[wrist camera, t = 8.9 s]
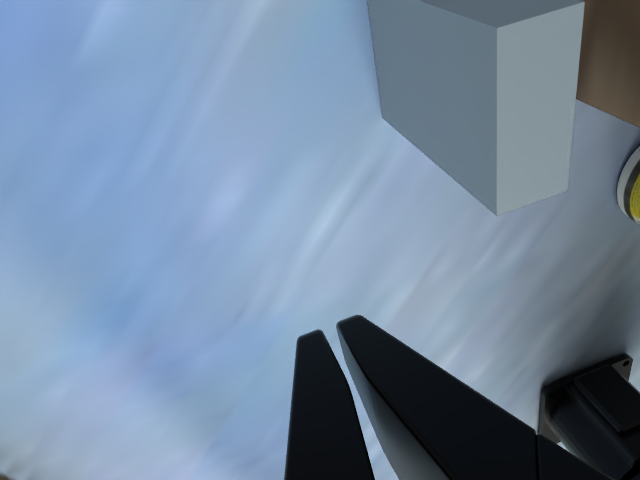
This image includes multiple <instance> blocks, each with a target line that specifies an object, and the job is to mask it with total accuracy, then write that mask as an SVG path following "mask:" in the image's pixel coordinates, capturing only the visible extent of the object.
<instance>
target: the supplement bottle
mask: <svg viewBox="0 0 640 480" xmlns="http://www.w3.org/2000/svg"><path fill="white" fill-rule="evenodd" d="M617 200H618V204H619V207H620V208H621V210H622V211H623V213H624V214H625V215H627V216H628V217H629V218H631V219H632V220H633V221H635V222H637V223H638V224H640V146H639V147H638V148H637V149H636V150H635V152H634V153H633V154H632V155H631V157H630V158H629V159H628V161H627V163H626V164H625V166H624V168H623V170H622V173H621V176H620V179H619V182H618V187H617Z"/></svg>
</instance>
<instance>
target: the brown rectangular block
mask: <svg viewBox="0 0 640 480" xmlns="http://www.w3.org/2000/svg"><path fill="white" fill-rule="evenodd" d="M580 1H584V2H585V5H584V15H583V26H582V37H581V48H580V59H579V69H578V80H577V91H576V99H577V100H579V101H581V102H584V103H586V104H588V105H590V106H593V107H595V108H597V109H599V110H602V111H604V112H606V113H608V114H611V115H613V116H615V117H617V118H619V119H622V120H624V121H626V122H628V123H631V124H633V125H635V126H637V127H640V0H580Z"/></svg>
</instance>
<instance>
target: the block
mask: <svg viewBox="0 0 640 480" xmlns="http://www.w3.org/2000/svg"><path fill="white" fill-rule="evenodd" d="M367 5H368V12H369V20H370V27H371V35H372V43H373V50H374V58H375V65H376V73H377V80H378V88H379V96H380V103H381V111H382V118H383V119H384V120H385V121H386V122H388V123H389V124H390V125H391V126H392V127H393V128H395V129H396V130H397V131H398V132H399V133H400V134H402V135H403V136H404V137H405V138H406V139H407V140H409V141H410V142H411V143H412V144H413V145H414V146H416V147H417V148H418V149H419V150H420V151H421V152H423V153H424V154H425V155H426V156H427V157H428V158H430V159H431V160H432V161H433V162H434V163H435V164H437V165H438V166H439V167H440V168H441V169H442V170H444V171H445V172H446V173H447V174H448V175H449V176H451V177H452V178H453V179H454V180H455V181H456V182H458V183H459V184H460V185H461V186H462V187H463V188H465V189H466V190H467V191H468V192H469V193H470V194H472V195H473V196H474V197H475V198H476V199H477V200H479V201H480V202H481V203H482V204H483V205H484V206H486V207H487V208H488V209H489V210H490V211H491V212H493V213H494V214H495V215H496V216H498V215H501V214H504V213H506V212H509V211H512V210H515V209H518V208H521V207H523V206H526V205H529V204H532V203H535V202H537V201H540V200H543V199H546V198H549V197H551V196H554V195H557V194H560V193H563V192H566V191H567V188H568V177H569V166H570V156H571V145H572V134H573V123H574V112H575V102H576V91H577V80H578V69H579V59H580V48H581V37H582V26H583V15H584V5H585V2H584V1H580V0H367Z"/></svg>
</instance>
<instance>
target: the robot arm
mask: <svg viewBox="0 0 640 480" xmlns="http://www.w3.org/2000/svg"><path fill="white" fill-rule="evenodd" d="M336 328H337V332H338V336H339V340H340V344H341V347H342V351H343V355H344V358H345V361H346V364H347V367H348V369H349V372H350V374H351V377H352V379H353V381H354V384H355V386H356V388H357V391H358V393H359V396H360V398H361V400H362V403H363V405H364V407H365V410H366V412H367V414H368V417H369V419H370V422H371V424H372V426H373V429H374V431H375V433H376V436H377V438H378V440H379V442H380V445H381V447H382V449H383V451H384V453H385V455H386V457H387V459H388V460H389V462H390V464H391V466H392V468H393V469H394V471H395V473H396V475H397V476H398V478H399V480H640V392H639V391H638V390H637V389H636V388H635V387H634V386H633V385H632V384H631V383H630V382H629V381H628V380H629V376H630V371H631V366H632V362H633V359H632V358H631V357H630V356H629V355H628V354H622V355H619V356H617V357H615V358H612V359H610V360H607V361H605V362H603V363H600V364H598V365H595V366H593V367H591V368H588V369H586V370H583V371H581V372H579V373H576V374H574V375H572V376H569V377H567V378H564V379H562V380H560V381H557V382H555V383H552V384H550V385H548V386H546V387H545V388H544V389H543V390H542V393H541V408H540V423H539V434H537V435H536V431H535V430H534V429H533V428H531V427H530V426H528V425H527V424H525V423H524V422H522V421H521V420H519V419H518V418H516V417H515V416H513V415H512V414H510V413H509V412H507V411H506V410H504V409H503V408H501V407H500V406H498V405H496V404H495V403H493V402H492V401H490V400H489V399H487V398H486V397H484V396H483V395H481V394H480V393H478V392H477V391H475V390H474V389H472V388H471V387H469V386H468V385H466V384H465V383H463V382H462V381H460V380H459V379H457V378H455V377H454V376H452V375H451V374H449V373H448V372H446V371H445V370H443V369H442V368H440V367H439V366H437V365H436V364H434V363H433V362H431V361H430V360H428V359H427V358H425V357H424V356H422V355H421V354H419V353H418V352H416V351H414V350H413V349H411V348H410V347H408V346H407V345H405V344H404V343H402V342H401V341H399V340H398V339H396V338H395V337H393V336H392V335H390V334H389V333H387V332H386V331H384V330H383V329H381V328H380V327H378V326H377V325H375V324H373V323H372V322H370V321H369V320H367V319H366V318H364V317H363V316H361V315H355V316H352V317H349V318H347V319H344V320H341V321H339V322H338V323H337V325H336ZM559 442H562V443H563V444H564V446H565V447H566V448H567V449H568V451H569V452H568V451H567V450H565V449H563V448H562V447H560V446H559V445H557V444H556V443H559ZM284 480H375V478H374V474H373V470H372V467H371V463H370V459H369V456H368V452H367V448H366V445H365V441H364V437H363V433H362V430H361V426H360V422H359V419H358V415H357V411H356V408H355V404H354V400H353V396H352V393H351V390H350V387H349V384H348V382H347V380H346V377H345V375H344V373H343V371H342V369H341V367H340V365H339V363H338V361H337V359H336V357H335V355H334V353H333V351H332V349H331V347H330V345H329V343H328V341H327V339H326V337H325V335H324V333H323V331H321V330H319V329H318V330H315V331H312V332H310V333H307V334H305V335H302V336H300V337H299V338H298V340H297V346H296V357H295V368H294V379H293V390H292V400H291V411H290V422H289V433H288V444H287V455H286V466H285V477H284Z"/></svg>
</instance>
